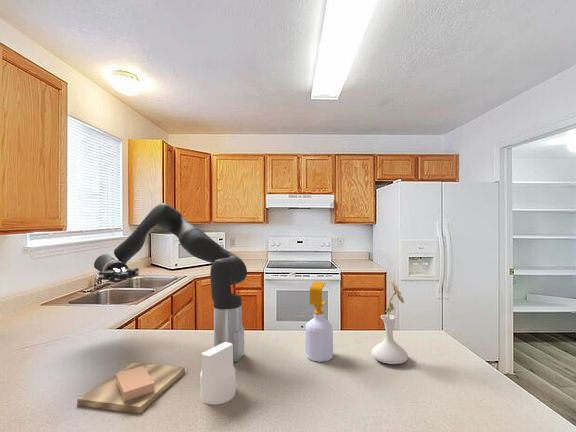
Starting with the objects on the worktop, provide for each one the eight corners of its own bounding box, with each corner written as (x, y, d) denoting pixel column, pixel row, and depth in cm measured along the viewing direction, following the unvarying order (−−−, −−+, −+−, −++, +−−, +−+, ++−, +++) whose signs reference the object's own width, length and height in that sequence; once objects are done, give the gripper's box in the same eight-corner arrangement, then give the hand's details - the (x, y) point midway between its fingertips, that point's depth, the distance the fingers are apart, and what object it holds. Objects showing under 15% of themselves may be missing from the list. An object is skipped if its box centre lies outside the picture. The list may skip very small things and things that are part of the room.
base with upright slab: (218, 408, 74) (217, 359, 74) (193, 397, 79) (192, 351, 79) (242, 390, 82) (241, 345, 82) (218, 381, 87) (217, 339, 87)
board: (185, 372, 92) (184, 367, 92) (140, 413, 73) (140, 406, 73) (133, 367, 96) (133, 362, 96) (77, 405, 76) (77, 398, 76)
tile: (115, 373, 84) (124, 392, 74) (143, 365, 88) (154, 382, 79) (115, 382, 84) (124, 402, 74) (143, 374, 88) (154, 392, 79)
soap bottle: (336, 352, 104) (334, 281, 105) (328, 364, 96) (326, 286, 96) (311, 348, 108) (310, 279, 108) (302, 359, 100) (300, 284, 100)
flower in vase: (399, 371, 90) (397, 287, 91) (365, 360, 98) (363, 282, 99) (415, 357, 100) (414, 280, 100) (383, 347, 108) (381, 277, 108)
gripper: (94, 262, 109) (100, 267, 95) (134, 259, 117) (145, 263, 104) (94, 283, 109) (100, 291, 95) (134, 278, 117) (146, 285, 103)
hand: (124, 277), depth 99 cm, fingers closed
